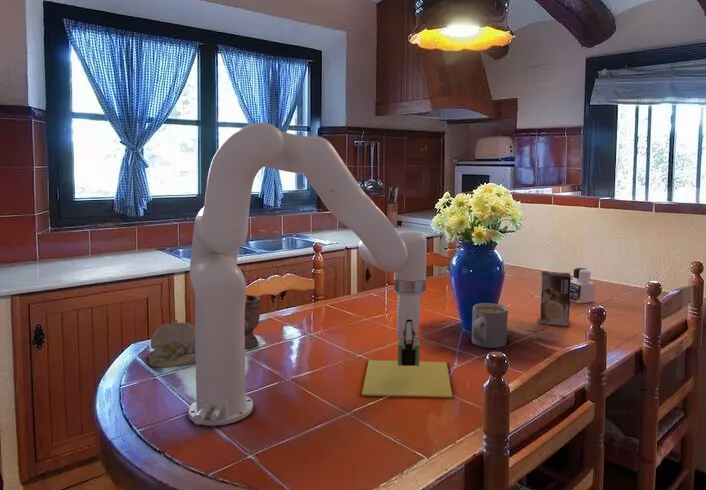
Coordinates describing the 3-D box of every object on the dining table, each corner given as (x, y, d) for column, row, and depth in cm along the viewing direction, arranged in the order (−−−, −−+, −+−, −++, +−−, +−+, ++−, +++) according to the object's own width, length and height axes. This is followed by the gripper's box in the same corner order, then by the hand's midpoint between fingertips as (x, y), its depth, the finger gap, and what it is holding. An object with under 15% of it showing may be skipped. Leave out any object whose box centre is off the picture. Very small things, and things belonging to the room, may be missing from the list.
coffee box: (568, 320, 182) (571, 272, 180) (569, 326, 176) (571, 276, 174) (539, 318, 184) (541, 270, 182) (539, 324, 178) (541, 274, 176)
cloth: (452, 397, 123) (452, 396, 123) (361, 395, 123) (361, 393, 123) (446, 363, 143) (446, 361, 143) (368, 361, 143) (368, 360, 143)
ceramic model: (141, 369, 135) (140, 328, 134) (150, 352, 145) (149, 315, 144) (203, 364, 138) (202, 325, 137) (207, 348, 149) (206, 312, 148)
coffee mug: (486, 333, 167) (487, 301, 166) (513, 342, 160) (515, 308, 159) (456, 343, 158) (457, 309, 157) (483, 353, 151) (484, 317, 150)
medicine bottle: (566, 298, 209) (568, 267, 208) (581, 297, 212) (583, 266, 211) (579, 303, 203) (581, 271, 201) (594, 302, 206) (596, 270, 204)
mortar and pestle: (216, 341, 155) (215, 271, 152) (244, 334, 161) (244, 266, 159) (238, 352, 147) (237, 278, 144) (266, 345, 153) (266, 273, 151)
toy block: (419, 366, 130) (419, 345, 130) (397, 365, 130) (398, 345, 130) (418, 358, 135) (419, 338, 134) (398, 357, 135) (398, 337, 134)
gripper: (394, 276, 139) (393, 347, 141) (392, 294, 122) (391, 374, 124) (424, 277, 139) (423, 347, 141) (426, 295, 122) (425, 375, 124)
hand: (408, 359), depth 133 cm, fingers closed on toy block, 5 cm apart
